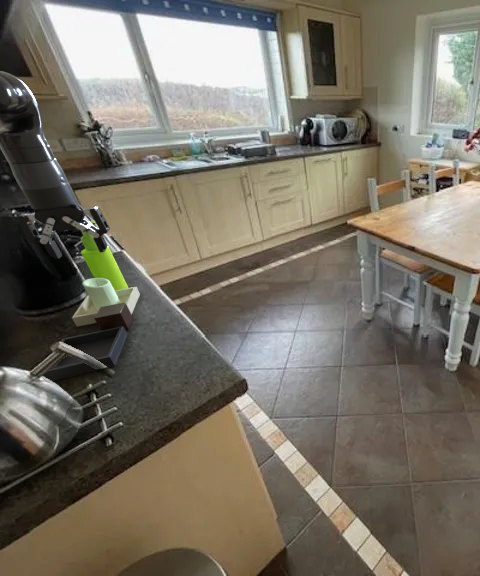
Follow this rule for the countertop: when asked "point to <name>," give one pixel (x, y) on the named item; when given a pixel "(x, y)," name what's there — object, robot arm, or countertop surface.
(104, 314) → the walnut block
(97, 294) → the candle
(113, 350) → the charcoal tray
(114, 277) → the soap dispenser
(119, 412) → the countertop surface
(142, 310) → the countertop surface
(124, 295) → the cream tray
